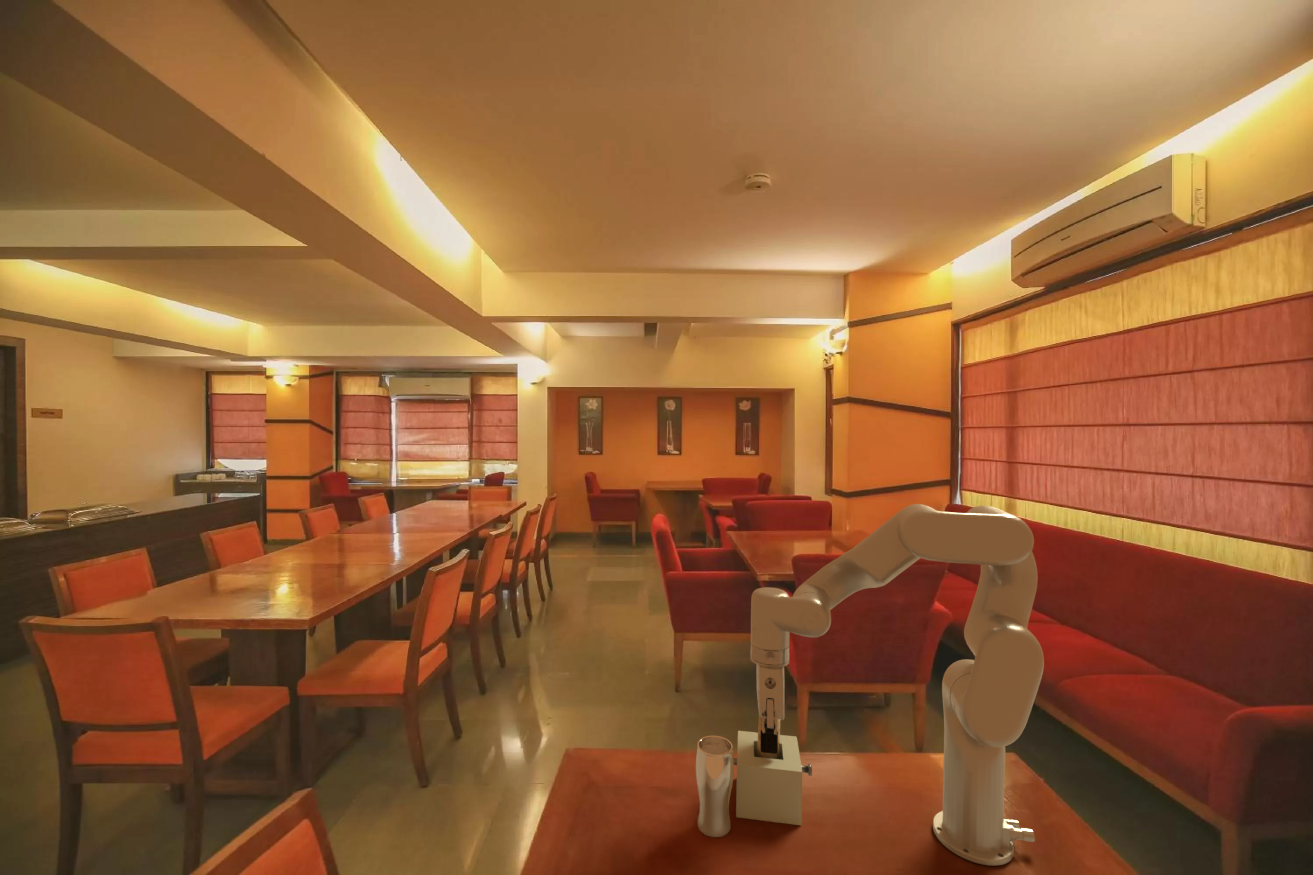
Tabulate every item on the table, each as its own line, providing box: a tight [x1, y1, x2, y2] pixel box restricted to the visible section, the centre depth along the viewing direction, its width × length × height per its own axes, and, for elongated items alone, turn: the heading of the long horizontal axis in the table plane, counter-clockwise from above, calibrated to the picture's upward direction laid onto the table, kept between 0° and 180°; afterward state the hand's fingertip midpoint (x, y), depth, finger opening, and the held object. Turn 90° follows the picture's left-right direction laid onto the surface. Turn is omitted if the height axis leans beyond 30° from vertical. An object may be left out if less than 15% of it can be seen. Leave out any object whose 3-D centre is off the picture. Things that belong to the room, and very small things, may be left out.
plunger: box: [801, 763, 813, 777], centre depth 108 cm, size 6×2×2 cm, turn 80°
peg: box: [757, 712, 781, 759], centre depth 109 cm, size 4×4×10 cm
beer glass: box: [695, 735, 735, 838], centre depth 101 cm, size 7×7×15 cm
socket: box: [735, 730, 803, 826], centre depth 109 cm, size 12×12×10 cm
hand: (768, 743), depth 109 cm, fingers open, 4 cm apart
